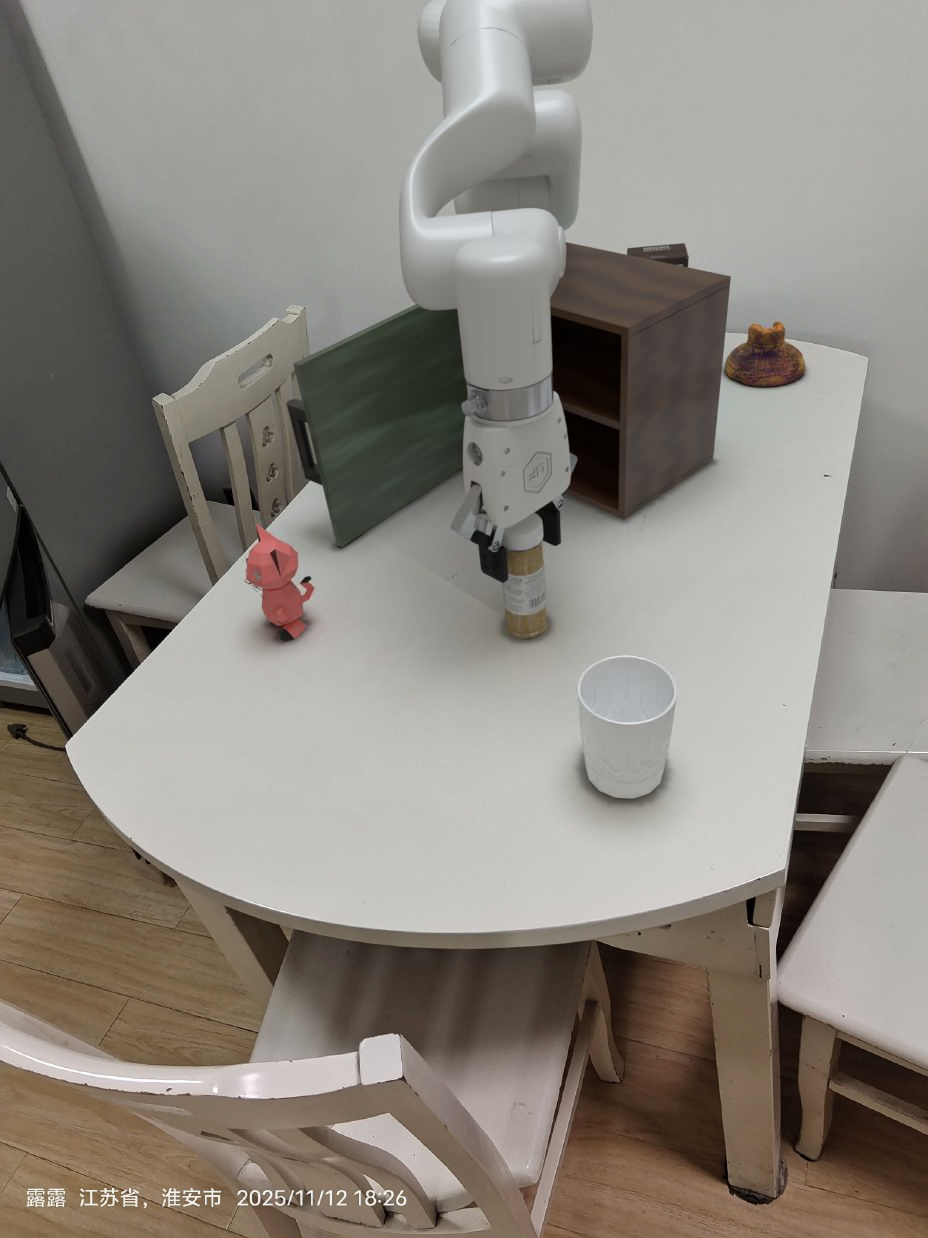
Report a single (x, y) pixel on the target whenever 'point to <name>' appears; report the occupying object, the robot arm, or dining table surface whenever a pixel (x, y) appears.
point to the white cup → (626, 723)
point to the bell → (765, 358)
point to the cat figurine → (278, 583)
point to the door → (382, 416)
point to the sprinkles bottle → (525, 578)
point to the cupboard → (636, 373)
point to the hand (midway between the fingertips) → (521, 556)
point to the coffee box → (663, 253)
